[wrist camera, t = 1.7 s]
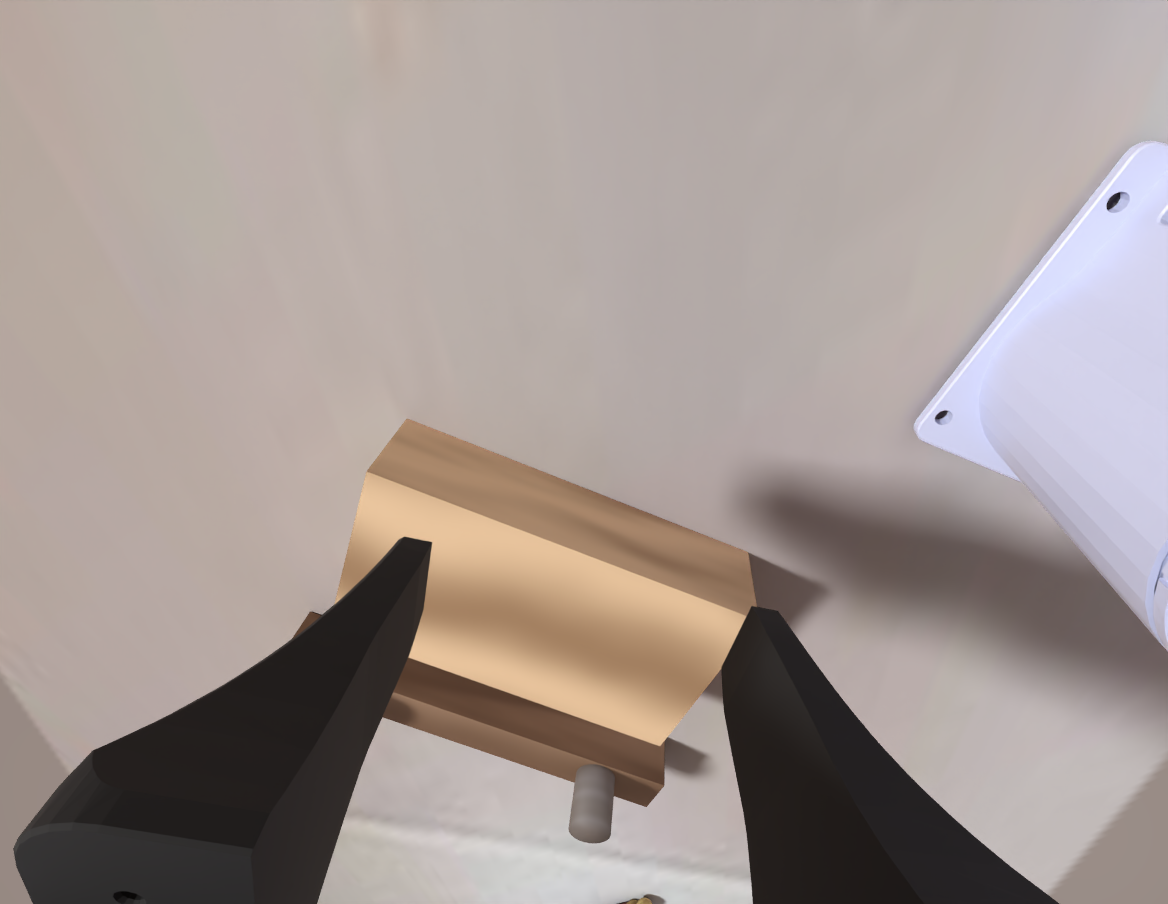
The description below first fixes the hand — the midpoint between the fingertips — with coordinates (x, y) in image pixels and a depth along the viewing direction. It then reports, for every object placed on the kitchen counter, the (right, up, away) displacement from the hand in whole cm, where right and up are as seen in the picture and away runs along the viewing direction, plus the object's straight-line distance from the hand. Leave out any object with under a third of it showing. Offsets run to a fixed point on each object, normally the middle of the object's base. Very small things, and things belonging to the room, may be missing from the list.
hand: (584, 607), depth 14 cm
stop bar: (-5, -8, +17) cm, 19 cm away
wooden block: (-1, -1, +12) cm, 12 cm away
